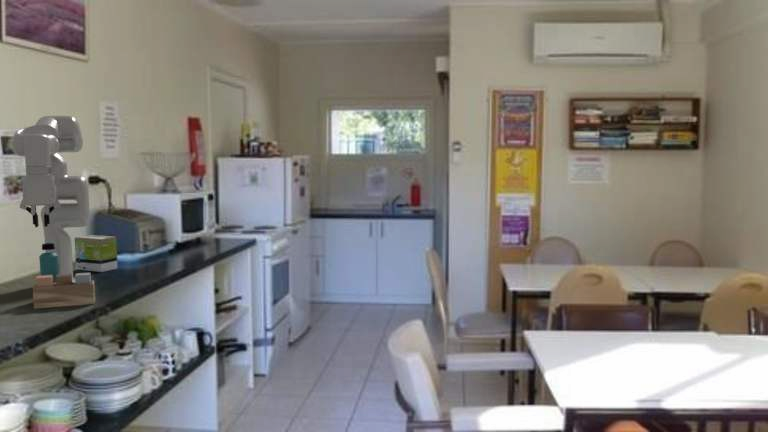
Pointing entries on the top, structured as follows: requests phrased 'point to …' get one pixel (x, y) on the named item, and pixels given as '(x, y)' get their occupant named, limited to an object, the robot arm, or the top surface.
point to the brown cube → (64, 279)
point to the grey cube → (83, 278)
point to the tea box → (96, 253)
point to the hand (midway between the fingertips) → (41, 226)
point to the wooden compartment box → (64, 295)
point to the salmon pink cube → (44, 281)
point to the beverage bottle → (49, 262)
